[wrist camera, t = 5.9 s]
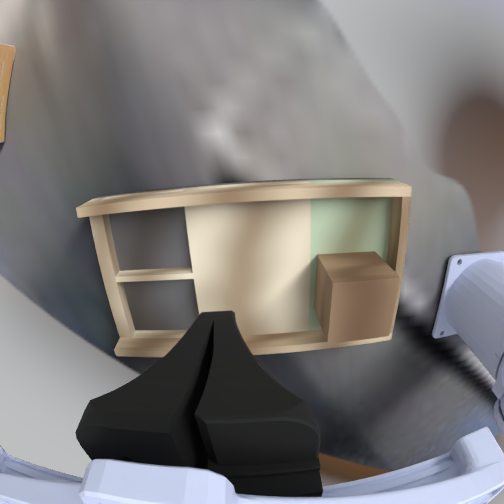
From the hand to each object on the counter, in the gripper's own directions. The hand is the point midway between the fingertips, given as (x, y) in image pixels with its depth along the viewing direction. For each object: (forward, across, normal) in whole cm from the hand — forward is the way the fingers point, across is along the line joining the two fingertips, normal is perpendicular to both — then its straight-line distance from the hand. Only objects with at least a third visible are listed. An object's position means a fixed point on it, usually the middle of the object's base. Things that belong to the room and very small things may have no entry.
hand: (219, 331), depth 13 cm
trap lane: (+9, -1, +1) cm, 10 cm away
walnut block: (+8, -8, +2) cm, 11 cm away
